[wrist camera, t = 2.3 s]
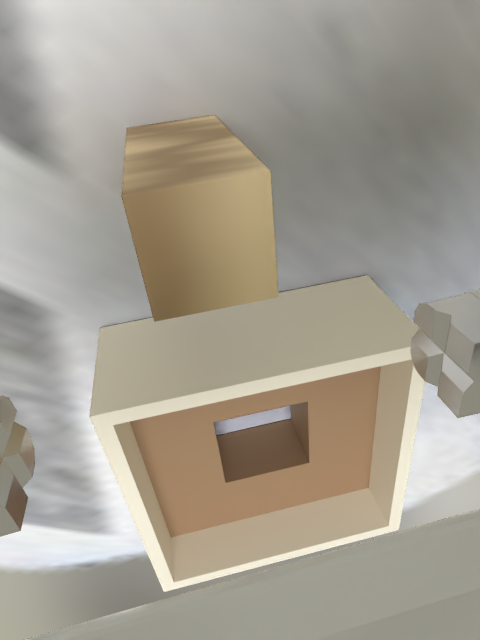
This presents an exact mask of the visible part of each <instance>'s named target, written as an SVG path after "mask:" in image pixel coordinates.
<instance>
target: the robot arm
mask: <svg viewBox="0 0 480 640" xmlns="http://www.w3.org/2000/svg"><path fill="white" fill-rule="evenodd" d="M414 323H415V324H416V325H417V326H418V328H419V330H418V331H417V332H416V334H415V335H414V336H413V338H412V339H411V349H410V353H411V357H412V362H413V365H414V367H415V369H416V371H417V372H418V374H419V375H420V376H421V377H422V379H423V380H424V381H426V382H428V383H431V384H433V385H435V386H438V397H439V398H440V399H441V400H442V401H443V402H444V403H445V404H446V405H447V407H448V408H449V409H450V410H451V411H452V412H453V413H454V414H455V415H456V417H457V418H460V417H465V416H469V415H473V414H478V413H480V289H478V290H474V291H470V292H466V293H464V294H461V295H457V296H453V297H448V298H444V299H439V300H435V301H431V302H426V303H422V304H419V305H418V307H417V309H416V311H415V316H414ZM16 412H17V410H16V409H15V407H14V405H13V404H12V402H11V400H10V399H9V398H8V397H6V396H3V395H2V396H0V536H4V535H7V534H11V533H14V532H18V531H21V526H22V522H23V518H24V513H25V509H26V504H27V500H28V497H27V495H26V493H25V492H24V490H23V487H24V486H25V485H26V484H27V482H28V481H29V480H30V479H31V478H32V477H33V471H34V466H35V454H34V446H33V443H32V439H31V436H30V435H29V433H28V431H27V429H26V428H25V427H23V426H21V425H19V424H17V423H15V422H14V419H15V416H16ZM24 640H480V509H476V510H473V511H469V512H466V513H462V514H459V515H455V516H452V517H448V518H445V519H442V520H438V521H435V522H431V523H428V524H424V525H421V526H417V527H414V528H410V529H407V530H403V531H400V532H396V533H393V534H389V535H386V536H382V537H379V538H376V539H372V540H369V541H365V542H362V543H358V544H355V545H351V546H348V547H345V548H341V549H337V550H334V551H331V552H327V553H324V554H320V555H316V556H313V557H309V558H306V559H303V560H299V561H296V562H293V563H289V564H285V565H282V566H279V567H275V568H271V569H268V570H264V571H261V572H257V573H254V574H250V575H247V576H243V577H240V578H236V579H233V580H229V581H226V582H223V583H219V584H215V585H212V586H208V587H205V588H202V589H198V590H195V591H191V592H188V593H184V594H181V595H177V596H174V597H170V598H167V599H163V600H160V601H156V602H153V603H149V604H146V605H142V606H139V607H135V608H132V609H128V610H126V611H121V612H118V613H114V614H111V615H108V616H104V617H101V618H97V619H94V620H90V621H87V622H83V623H80V624H76V625H73V626H69V627H66V628H62V629H59V630H55V631H52V632H48V633H45V634H42V635H38V636H34V637H31V638H27V639H24Z"/></svg>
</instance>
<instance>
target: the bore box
mask: <svg viewBox="0 0 480 640" xmlns="http://www.w3.org/2000/svg"><path fill="white" fill-rule="evenodd" d="M278 295H279V297H277V298H272V299H267V300H262V301H257V302H252V303H247V304H242V305H237V306H232V307H227V308H222V309H217V310H212V311H207V312H202V313H196V314H191V315H186V316H181V317H176V318H171V319H166V320H161V321H156V322H154V319H153V317H152V318H147V319H142V320H137V321H132V322H127V323H122V324H117V325H112V326H107V327H101V328H100V331H99V340H98V348H97V357H96V365H95V374H94V382H93V391H92V399H91V408H90V416H89V417H90V419H91V421H92V424H93V426H94V429H95V431H96V433H97V436H98V438H99V440H100V443H101V445H102V447H103V450H104V452H105V454H106V457H107V459H108V462H109V464H110V466H111V469H112V471H113V473H114V476H115V478H116V480H117V483H118V485H119V487H120V490H121V492H122V495H123V497H124V499H125V502H126V504H127V506H128V509H129V511H130V513H131V516H132V518H133V520H134V523H135V525H136V528H137V530H138V532H139V535H140V537H141V539H142V542H143V544H144V546H145V549H146V551H147V553H148V556H149V558H150V560H151V563H152V565H153V568H154V570H155V572H156V575H157V577H158V579H159V582H160V584H161V586H162V589H163V591H164V592H165V591H169V590H172V589H177V588H181V587H184V586H188V585H192V584H196V583H199V582H203V581H207V580H211V579H214V578H218V577H222V576H225V575H230V574H233V573H237V572H241V571H245V570H248V569H252V568H256V567H260V566H264V565H268V564H271V563H275V562H279V561H283V560H286V559H290V558H294V557H298V556H301V555H305V554H309V553H313V552H316V551H320V550H324V549H328V548H332V547H336V546H339V545H343V544H347V543H350V542H354V541H358V540H362V539H366V538H370V537H373V536H377V535H381V534H385V533H388V532H392V531H396V530H399V525H400V520H401V514H402V509H403V503H404V498H405V492H406V486H407V481H408V475H409V470H410V464H411V458H412V453H413V447H414V442H415V436H416V430H417V425H418V419H419V413H420V408H421V402H422V397H423V391H424V385H425V381H424V380H423V379H422V377H421V376H420V375H419V374H418V372H417V371H416V369H415V367H414V365H413V362H412V357H411V353H410V349H411V339H412V338H413V336H414V335H415V334H416V332H417V331H418V330H419V328H418V327H417V326H416V325H415V324H414V323H413V322H412V321H411V320H410V319H409V318H408V317H407V316H406V315H405V313H404V312H403V311H402V310H401V309H400V308H399V307H398V306H397V305H396V304H395V303H394V302H393V301H392V300H391V299H390V298H389V297H388V296H387V295H386V294H385V293H384V292H383V291H382V290H381V289H380V288H379V287H378V286H377V285H376V283H375V282H374V281H373V280H372V279H371V278H370V277H369V276H368V275H366V276H361V277H356V278H351V279H346V280H341V281H336V282H330V283H325V284H320V285H315V286H310V287H305V288H300V289H295V290H290V291H285V292H280V293H278ZM289 405H291V419H288V420H284V421H280V422H275V423H271V424H266V425H262V426H258V427H253V428H249V429H245V430H240V431H236V432H231V433H227V434H223V435H218V436H216V433H215V427H214V422H219V421H223V420H227V419H232V418H236V417H241V416H245V415H250V414H254V413H258V412H263V411H267V410H272V409H276V408H281V407H285V406H289Z"/></svg>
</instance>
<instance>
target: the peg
mask: <svg viewBox="0 0 480 640" xmlns="http://www.w3.org/2000/svg"><path fill="white" fill-rule="evenodd" d="M121 196H122V200H123V203H124V207H125V211H126V215H127V219H128V223H129V226H130V230H131V234H132V238H133V242H134V246H135V250H136V253H137V257H138V261H139V265H140V269H141V273H142V276H143V280H144V284H145V288H146V292H147V296H148V299H149V303H150V307H151V311H152V315H153V319H154V322H156V321H161V320H166V319H171V318H176V317H181V316H186V315H191V314H196V313H202V312H207V311H212V310H217V309H222V308H227V307H232V306H237V305H242V304H247V303H252V302H257V301H262V300H267V299H272V298H277V297H279V295H278V280H277V264H276V249H275V233H274V218H273V202H272V187H271V171H270V170H269V169H268V168H267V167H266V166H265V165H264V164H263V163H262V162H261V161H260V160H259V159H258V158H257V157H256V156H255V155H254V154H253V153H252V152H251V151H250V150H249V149H248V148H247V147H246V146H245V145H244V144H243V143H242V142H241V141H240V140H239V139H238V138H237V137H236V136H235V135H234V134H233V133H232V132H231V131H230V130H229V129H228V128H227V127H226V126H225V125H224V124H223V123H222V122H221V121H220V120H219V119H218V118H217V117H216V116H215V115H211V116H204V117H197V118H190V119H184V120H177V121H170V122H164V123H157V124H150V125H144V126H137V127H130V128H127V133H126V145H125V158H124V170H123V182H122V195H121Z"/></svg>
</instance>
